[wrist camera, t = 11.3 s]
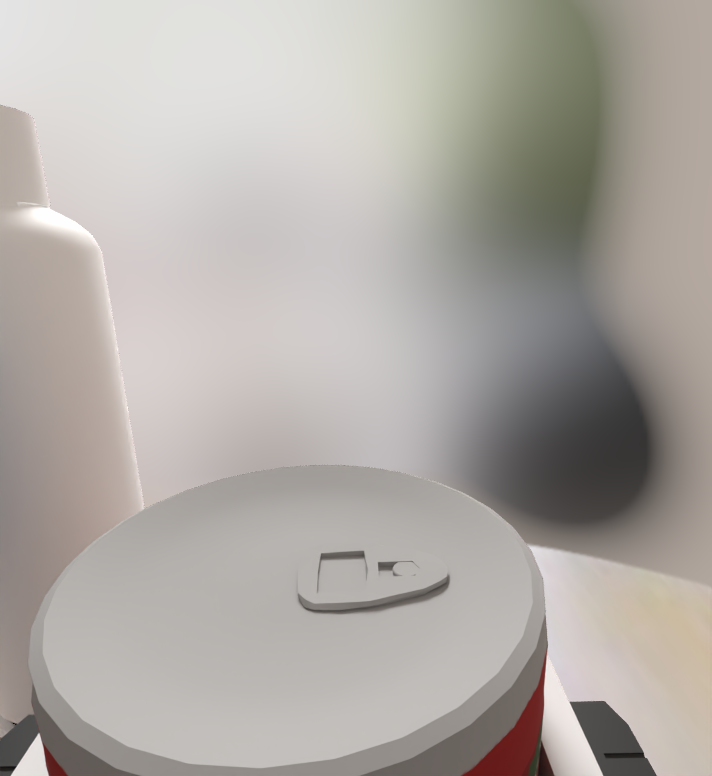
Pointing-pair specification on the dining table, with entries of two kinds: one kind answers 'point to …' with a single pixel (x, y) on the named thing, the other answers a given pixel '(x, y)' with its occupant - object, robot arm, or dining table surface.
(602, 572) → the dining table surface
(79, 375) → the bottle
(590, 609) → the dining table surface
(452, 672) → the canned food
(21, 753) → the robot arm
